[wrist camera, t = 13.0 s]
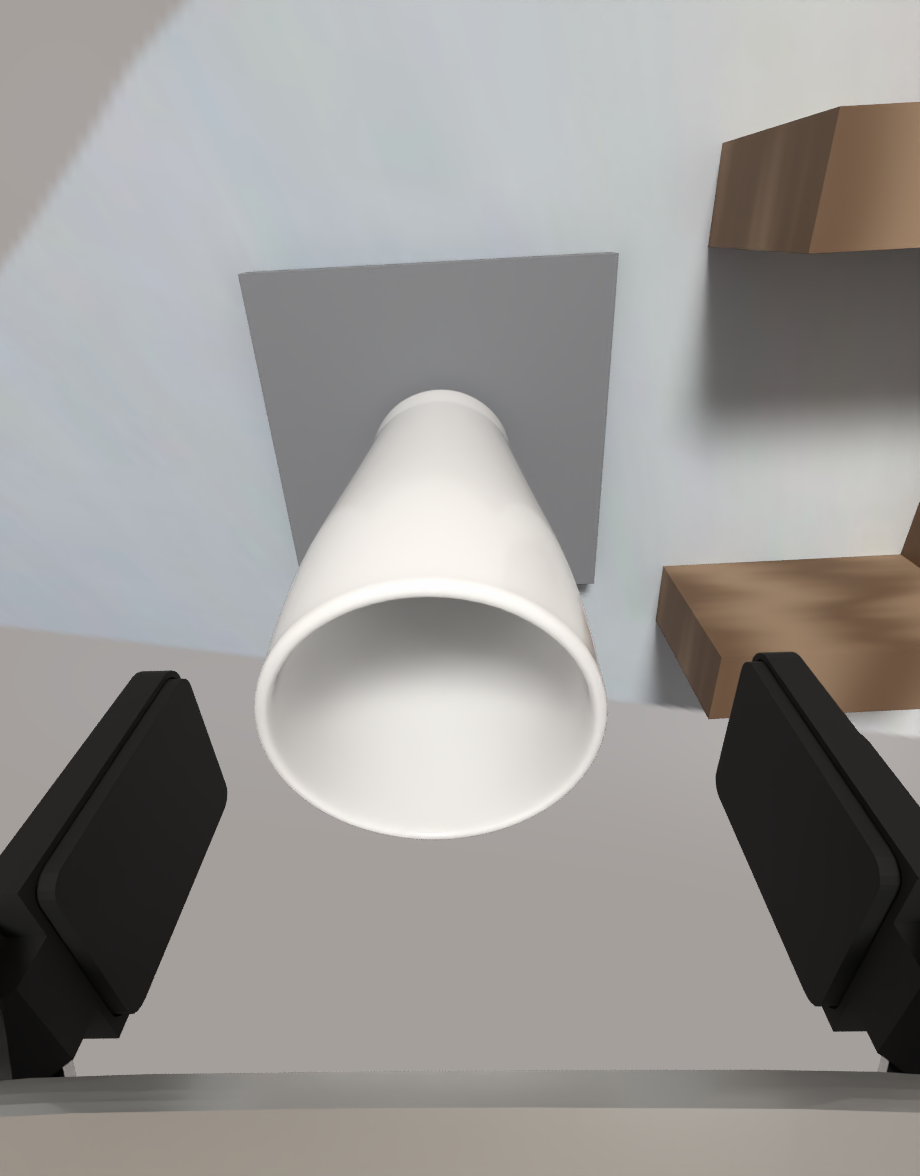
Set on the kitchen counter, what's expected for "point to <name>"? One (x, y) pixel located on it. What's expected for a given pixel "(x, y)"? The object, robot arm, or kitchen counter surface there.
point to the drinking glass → (433, 641)
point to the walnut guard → (828, 585)
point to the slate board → (440, 371)
